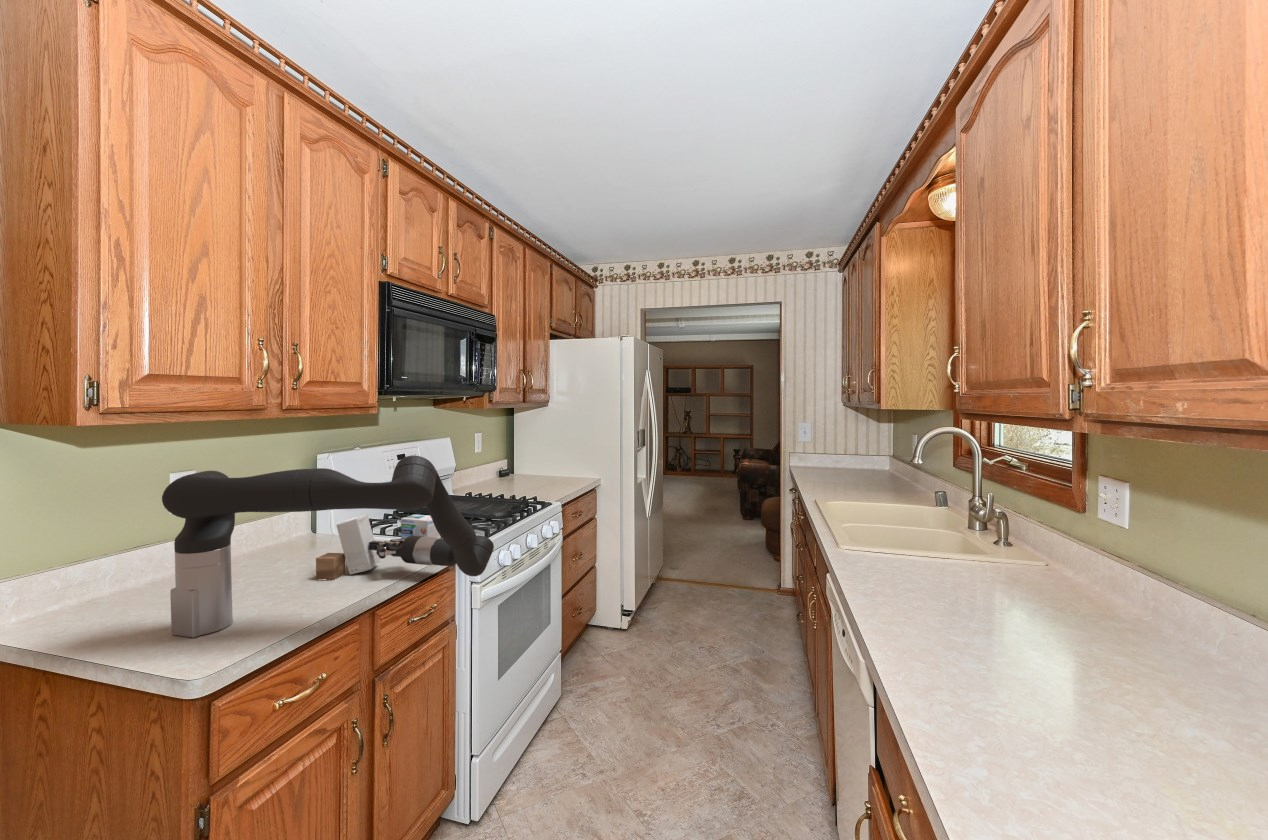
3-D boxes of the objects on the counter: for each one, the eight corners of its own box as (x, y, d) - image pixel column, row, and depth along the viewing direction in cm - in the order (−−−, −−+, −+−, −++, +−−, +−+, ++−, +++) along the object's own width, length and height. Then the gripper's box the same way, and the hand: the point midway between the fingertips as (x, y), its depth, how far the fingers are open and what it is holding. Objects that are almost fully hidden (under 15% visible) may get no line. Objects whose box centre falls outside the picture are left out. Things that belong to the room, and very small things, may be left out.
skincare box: (370, 570, 145) (357, 518, 144) (348, 575, 144) (334, 524, 143) (381, 561, 153) (368, 512, 152) (359, 566, 153) (347, 517, 152)
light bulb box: (400, 551, 168) (399, 518, 168) (414, 545, 174) (414, 513, 174) (428, 554, 165) (427, 520, 164) (441, 548, 171) (441, 516, 171)
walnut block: (333, 580, 141) (333, 558, 140) (316, 580, 141) (315, 558, 141) (345, 574, 146) (345, 553, 145) (328, 574, 146) (328, 552, 146)
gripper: (438, 531, 150) (386, 526, 154) (407, 543, 137) (352, 538, 141) (438, 556, 150) (387, 551, 155) (407, 571, 137) (352, 565, 142)
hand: (370, 545), depth 148 cm, fingers closed
